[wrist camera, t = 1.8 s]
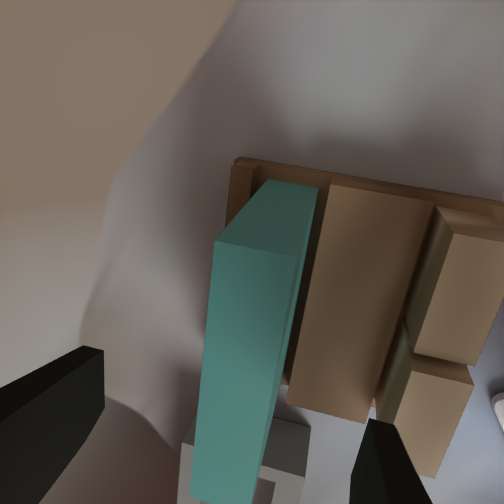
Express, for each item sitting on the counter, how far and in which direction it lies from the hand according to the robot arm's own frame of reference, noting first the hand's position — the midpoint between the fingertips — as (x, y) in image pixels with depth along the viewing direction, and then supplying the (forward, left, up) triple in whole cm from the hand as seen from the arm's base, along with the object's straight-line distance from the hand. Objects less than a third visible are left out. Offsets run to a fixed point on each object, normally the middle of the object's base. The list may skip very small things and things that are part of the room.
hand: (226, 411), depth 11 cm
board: (0, 0, -8) cm, 8 cm away
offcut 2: (-4, +6, -8) cm, 10 cm away
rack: (-2, +2, -8) cm, 9 cm away
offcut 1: (-7, +2, -8) cm, 10 cm away
